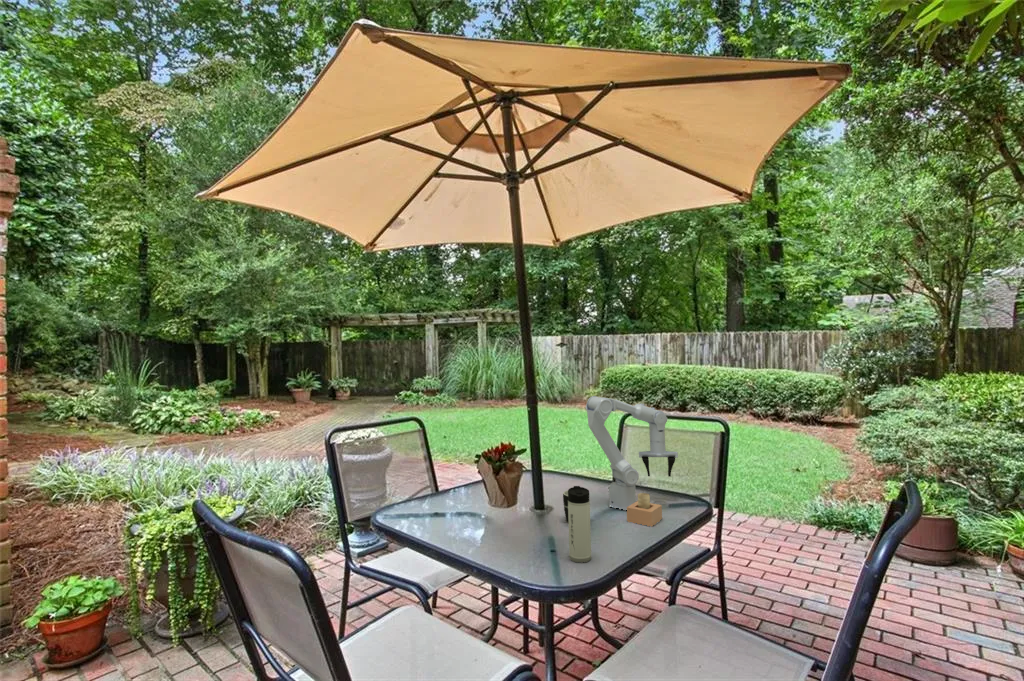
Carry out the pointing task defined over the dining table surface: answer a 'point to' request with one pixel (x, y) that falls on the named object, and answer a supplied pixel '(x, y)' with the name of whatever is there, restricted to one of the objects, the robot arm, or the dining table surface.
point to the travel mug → (579, 524)
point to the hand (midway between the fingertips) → (659, 475)
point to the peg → (644, 500)
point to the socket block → (644, 514)
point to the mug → (566, 504)
